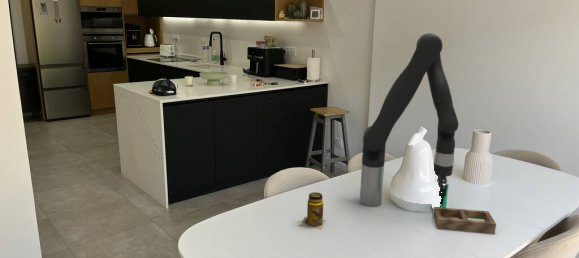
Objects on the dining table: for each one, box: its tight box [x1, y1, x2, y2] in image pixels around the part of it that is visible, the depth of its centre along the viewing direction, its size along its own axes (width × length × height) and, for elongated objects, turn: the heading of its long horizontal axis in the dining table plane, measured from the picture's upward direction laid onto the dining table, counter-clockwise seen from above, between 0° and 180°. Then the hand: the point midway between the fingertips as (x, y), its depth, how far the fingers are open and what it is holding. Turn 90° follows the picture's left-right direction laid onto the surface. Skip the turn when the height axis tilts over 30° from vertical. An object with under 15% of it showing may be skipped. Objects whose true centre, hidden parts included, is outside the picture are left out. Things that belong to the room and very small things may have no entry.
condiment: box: [299, 191, 326, 229], centre depth 168 cm, size 7×8×12 cm
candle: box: [439, 183, 450, 208], centre depth 182 cm, size 6×6×12 cm
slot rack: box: [432, 207, 497, 235], centre depth 170 cm, size 20×11×4 cm, turn 80°
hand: (439, 201), depth 183 cm, fingers closed on candle, 5 cm apart
